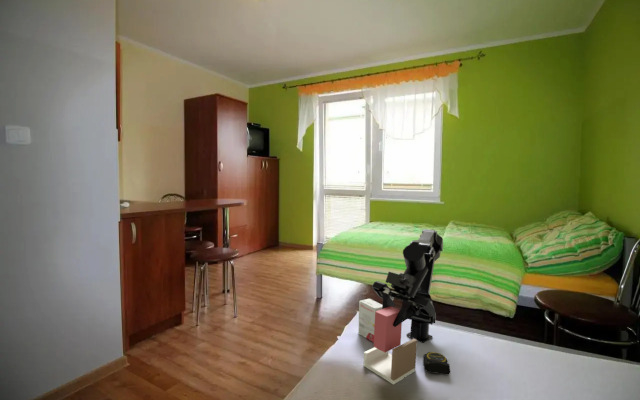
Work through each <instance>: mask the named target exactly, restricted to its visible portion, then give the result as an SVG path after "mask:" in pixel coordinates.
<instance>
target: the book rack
mask: <svg viewBox="0 0 640 400" xmlns="http://www.w3.org/2000/svg"><path fill="white" fill-rule="evenodd" d="M417 346H418V341H417V340H416V339H413V338H411V339H410V340H408V341H406V342H404V343H401V345H400V346H398V347H396V348H394V349H392V350H391V353H389V351H388V352H386V353H384V352H383V351H381V350H379V349H377V348H375V347H374V346H373V347H372V348H370V349H368V350H366V351H364V352H363V367H365V368H367V369H368V370H370V371H371V372H373V373H374V374H376V375H378V376H379V377H381V378H382V379H384V380H385V381H388V382H389V383H391V384H392V385H395V384H396V383H397V384H398V382H400V381H402V380H403V379H405V378H407V377H408V376H409V374H410V373H411V374H413V373H414V372H416V362H417V361H416V360H417ZM412 372H413V373H412ZM411 374H410V375H411ZM407 375H408V376H407ZM404 377H405V378H404Z"/></svg>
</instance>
